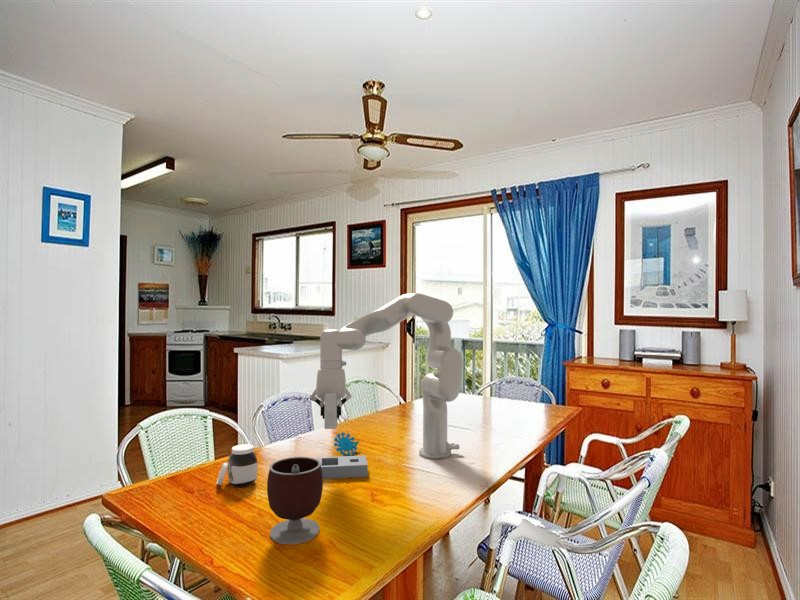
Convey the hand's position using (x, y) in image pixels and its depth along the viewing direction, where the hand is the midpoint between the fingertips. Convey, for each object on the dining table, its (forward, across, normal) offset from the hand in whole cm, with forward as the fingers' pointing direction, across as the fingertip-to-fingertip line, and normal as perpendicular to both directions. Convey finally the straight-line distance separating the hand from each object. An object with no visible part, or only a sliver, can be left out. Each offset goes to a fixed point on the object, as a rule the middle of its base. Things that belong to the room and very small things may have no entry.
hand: (330, 417), depth 156 cm
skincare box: (+4, 0, 0) cm, 4 cm away
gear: (+20, -6, -21) cm, 29 cm away
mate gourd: (+20, +9, +41) cm, 46 cm away
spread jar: (+20, +31, +5) cm, 37 cm away
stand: (+19, -4, 0) cm, 20 cm away
